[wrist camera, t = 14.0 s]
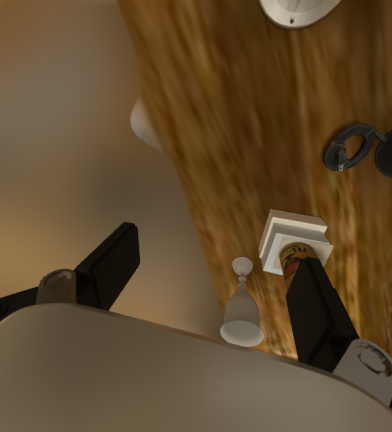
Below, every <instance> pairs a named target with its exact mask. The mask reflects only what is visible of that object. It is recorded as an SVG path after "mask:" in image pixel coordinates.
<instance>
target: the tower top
mask: <svg viewBox="0 0 392 432" xmlns="http://www.w3.org/2000/svg"><path fill="white" fill-rule="evenodd" d="M283 237H288V238H294V239H300V240H306V241H311V242H315V243H321V244H327V245H329V244H330V243H329V242H328V240H327V239H326V237H325V235H324V234H323V232H321V231H315V230H310V229H305V228H300V227H295V226H290V225H285V224H280V223H275V222H274V223H273V226H272V229H271V232H270V235H269V238H268V240H267V243H266V246H265V249H264V252H263V255H262V266H263V271H267V272H272V273H276V274H280V275H283V271H282V270H280V269H274V268H273V266H274V263H275V259H276V256H277V253H278V250H279V247H280V244H281V241H282V238H283Z"/></svg>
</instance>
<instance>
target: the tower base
mask: <svg viewBox="0 0 392 432" xmlns="http://www.w3.org/2000/svg"><path fill="white" fill-rule="evenodd" d="M274 222H275V223H280V224H285V225H290V226H295V227H300V228H305V229H310V230H315V231H321V232H323V234H324V233H325V231H326V229H327V226H326V224H325V223H324V222H323V220H322V219H321V218H318V217H313V216H307V215H301V214H296V213H290V212H284V211H279V210H273V209H270V212H269V215H268V219H267V222H266V225H265V228H264V232H263V235H262V238H261V241H260V245H259V255H260V257H261V258H262V255H263V252H264V249H265V246H266V243H267V240H268V238H269V235H270V232H271V229H272V226H273V223H274Z"/></svg>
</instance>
